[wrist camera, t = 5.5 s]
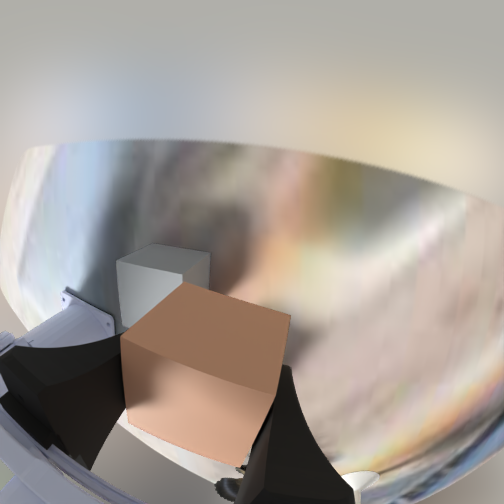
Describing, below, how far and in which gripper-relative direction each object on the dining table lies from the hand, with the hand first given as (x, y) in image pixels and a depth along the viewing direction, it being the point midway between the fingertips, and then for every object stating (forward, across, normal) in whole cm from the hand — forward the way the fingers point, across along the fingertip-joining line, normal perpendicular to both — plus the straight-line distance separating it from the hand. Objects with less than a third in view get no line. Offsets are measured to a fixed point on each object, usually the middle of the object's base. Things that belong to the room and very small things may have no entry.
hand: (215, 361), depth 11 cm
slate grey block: (+10, +6, +2) cm, 11 cm away
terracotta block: (+2, 0, 0) cm, 2 cm away
